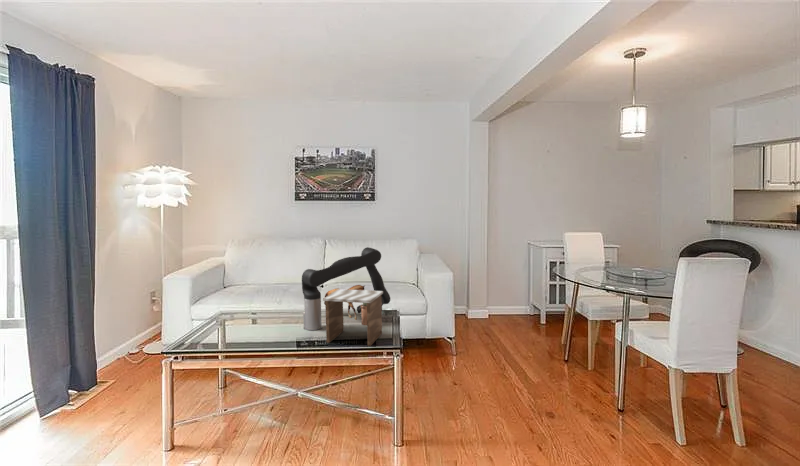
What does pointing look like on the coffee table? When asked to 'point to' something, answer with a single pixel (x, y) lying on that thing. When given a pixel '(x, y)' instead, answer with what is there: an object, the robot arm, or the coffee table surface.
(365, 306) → the pot
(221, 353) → the coffee table surface
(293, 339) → the coffee table surface
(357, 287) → the horse figurine
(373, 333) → the side table
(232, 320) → the coffee table surface
